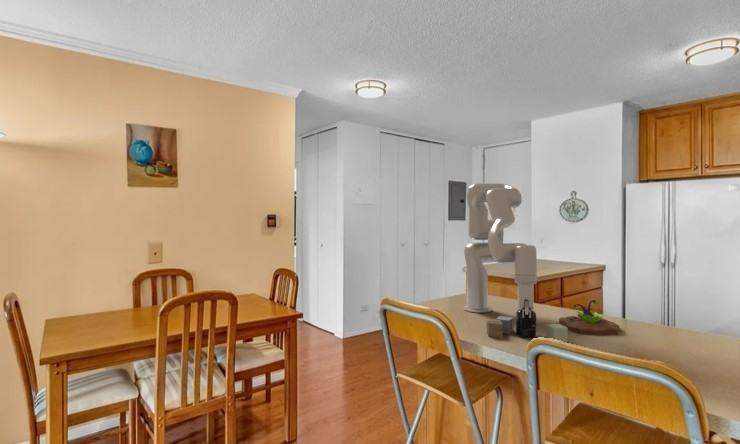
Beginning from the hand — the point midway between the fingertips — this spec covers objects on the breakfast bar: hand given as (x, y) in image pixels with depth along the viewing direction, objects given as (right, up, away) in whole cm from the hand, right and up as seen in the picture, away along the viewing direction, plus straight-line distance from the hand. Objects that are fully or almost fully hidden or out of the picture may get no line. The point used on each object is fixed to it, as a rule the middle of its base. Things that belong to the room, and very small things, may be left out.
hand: (526, 325), depth 143 cm
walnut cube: (-11, -4, +2) cm, 12 cm away
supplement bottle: (0, -4, 0) cm, 4 cm away
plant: (+28, -4, +9) cm, 30 cm away
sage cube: (+9, -4, -5) cm, 11 cm away
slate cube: (-6, -4, +6) cm, 9 cm away
